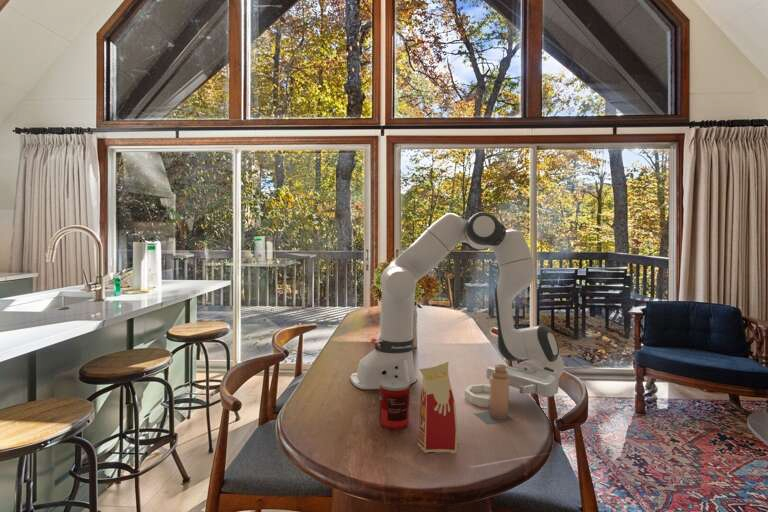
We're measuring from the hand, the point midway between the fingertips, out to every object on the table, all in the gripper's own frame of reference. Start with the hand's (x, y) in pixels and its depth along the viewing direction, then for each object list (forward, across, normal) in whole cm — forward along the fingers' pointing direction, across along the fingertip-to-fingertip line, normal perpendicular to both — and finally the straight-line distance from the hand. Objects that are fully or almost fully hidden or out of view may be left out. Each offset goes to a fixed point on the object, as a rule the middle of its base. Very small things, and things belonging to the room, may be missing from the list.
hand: (506, 385), depth 120 cm
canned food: (+28, -16, +8) cm, 33 cm away
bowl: (-4, -9, +8) cm, 13 cm away
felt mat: (+5, 0, +8) cm, 9 cm away
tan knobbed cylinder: (+4, 0, +8) cm, 8 cm away
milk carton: (+28, -2, +8) cm, 29 cm away
